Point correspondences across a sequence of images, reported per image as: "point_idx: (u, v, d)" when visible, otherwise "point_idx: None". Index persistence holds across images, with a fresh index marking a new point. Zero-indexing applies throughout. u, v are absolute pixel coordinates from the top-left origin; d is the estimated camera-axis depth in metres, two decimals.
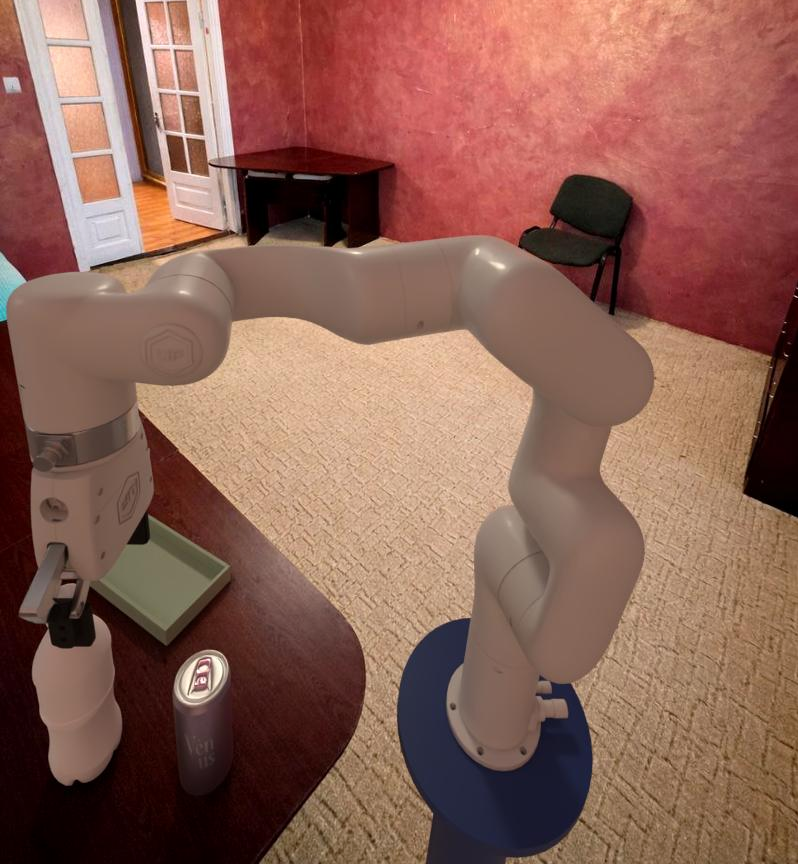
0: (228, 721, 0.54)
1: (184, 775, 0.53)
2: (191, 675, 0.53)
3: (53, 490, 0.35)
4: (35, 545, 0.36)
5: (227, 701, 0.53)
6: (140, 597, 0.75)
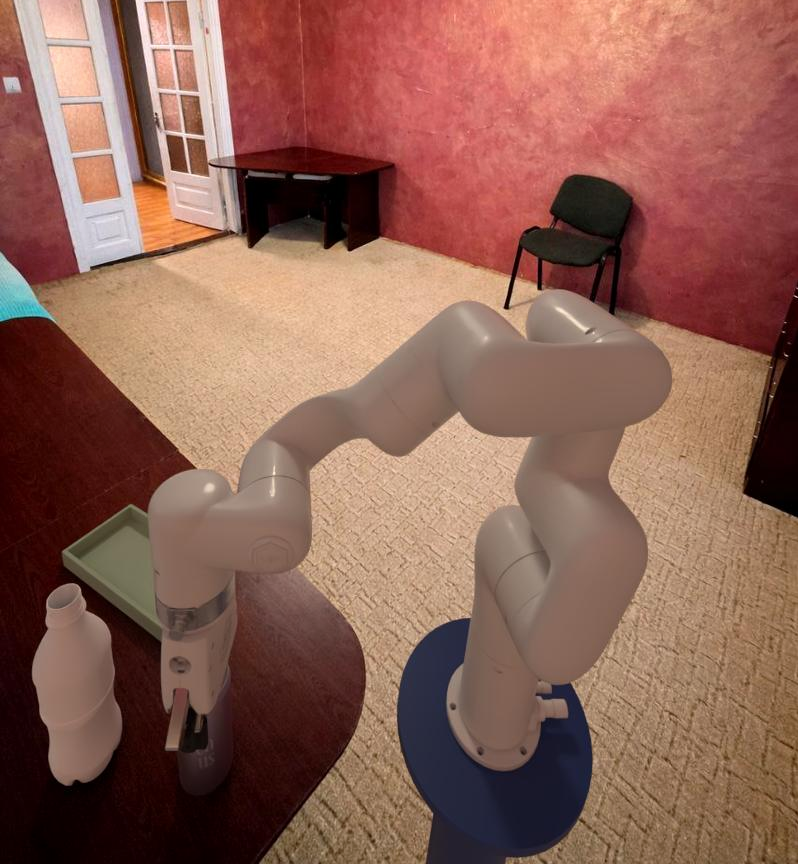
0: (228, 721, 0.54)
1: (184, 775, 0.53)
2: None
3: (180, 650, 0.45)
4: (163, 690, 0.46)
5: (227, 701, 0.53)
6: (140, 597, 0.75)
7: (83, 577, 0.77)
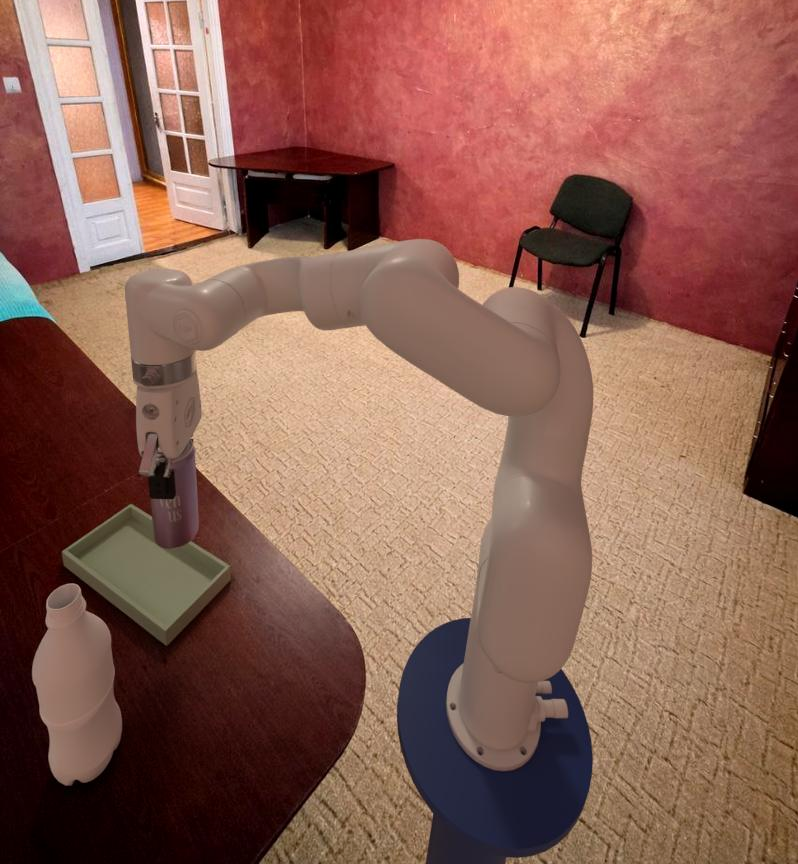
0: (193, 489, 0.67)
1: (157, 530, 0.67)
2: None
3: (150, 399, 0.59)
4: (138, 434, 0.59)
5: (191, 469, 0.66)
6: (140, 597, 0.75)
7: (83, 577, 0.77)
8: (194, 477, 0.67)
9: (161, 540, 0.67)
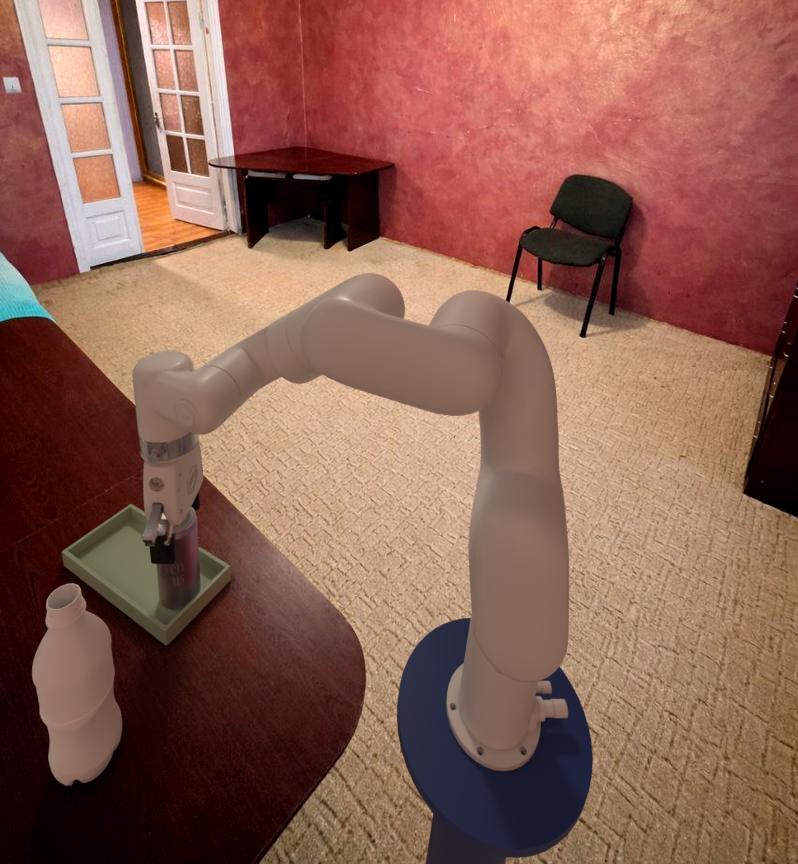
0: (195, 554, 0.73)
1: (162, 592, 0.73)
2: None
3: (156, 473, 0.64)
4: (145, 504, 0.65)
5: (194, 537, 0.72)
6: (140, 597, 0.75)
7: (83, 577, 0.77)
8: (196, 543, 0.73)
9: (166, 601, 0.73)
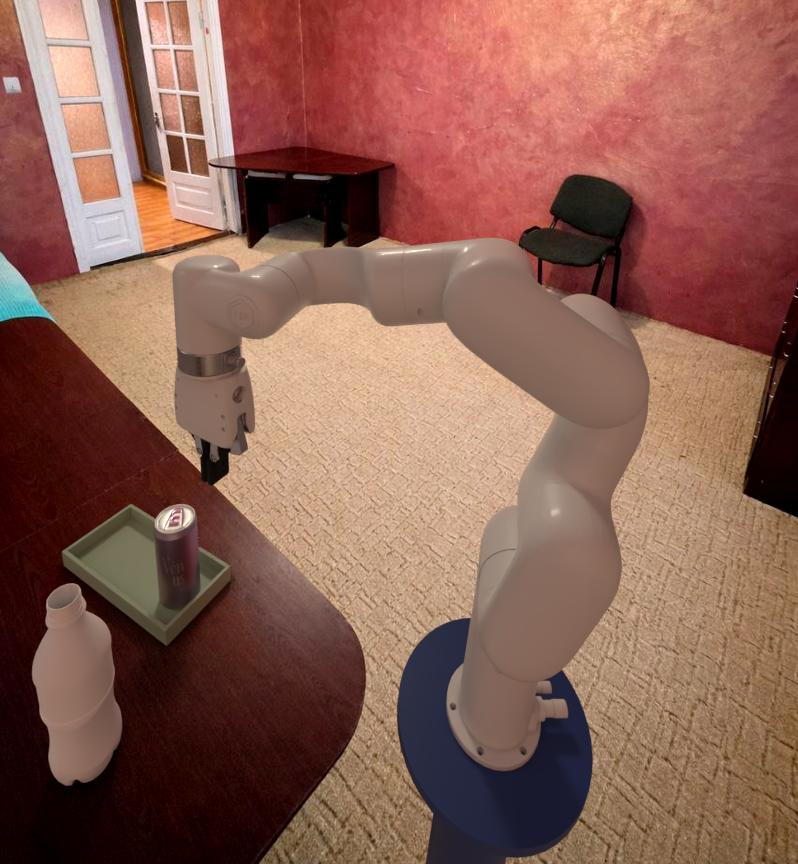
0: (195, 554, 0.73)
1: (162, 592, 0.73)
2: (167, 518, 0.72)
3: (238, 382, 0.58)
4: (230, 424, 0.58)
5: (194, 537, 0.72)
6: (140, 597, 0.75)
7: (83, 577, 0.77)
8: (196, 543, 0.73)
9: (166, 601, 0.73)
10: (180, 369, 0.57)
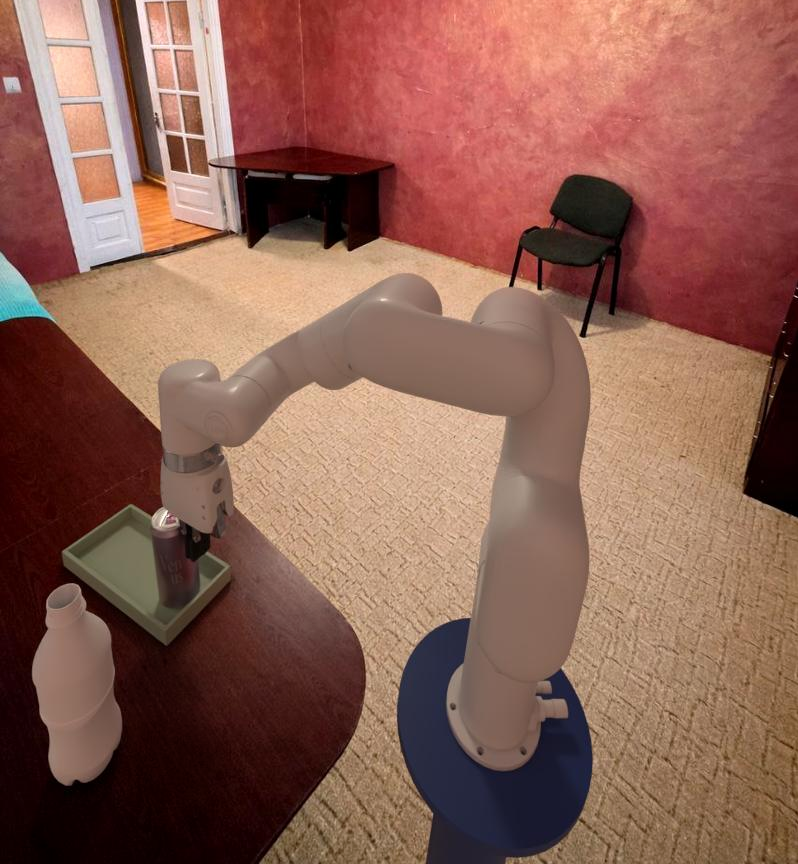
0: None
1: (161, 591, 0.73)
2: (164, 515, 0.72)
3: (217, 475, 0.65)
4: (210, 513, 0.64)
5: None
6: (140, 597, 0.75)
7: (83, 577, 0.77)
8: None
9: (165, 600, 0.73)
10: (165, 465, 0.63)
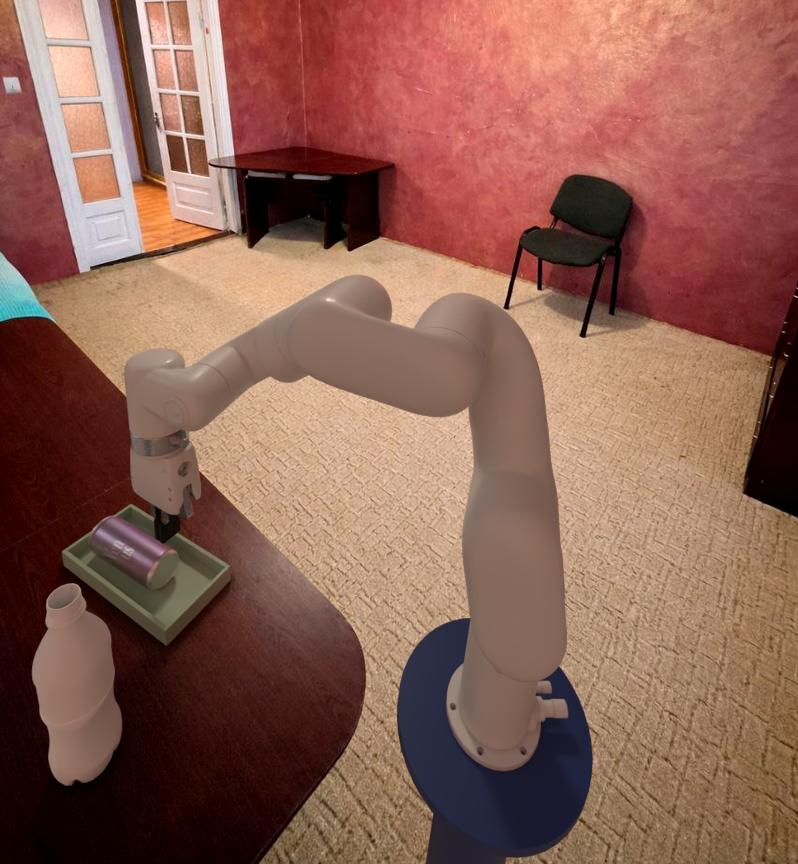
0: (131, 531, 0.80)
1: (133, 577, 0.75)
2: None
3: (183, 458, 0.67)
4: (176, 495, 0.67)
5: (117, 523, 0.81)
6: (140, 597, 0.75)
7: (83, 577, 0.77)
8: (128, 526, 0.81)
9: (140, 578, 0.75)
10: (132, 449, 0.66)
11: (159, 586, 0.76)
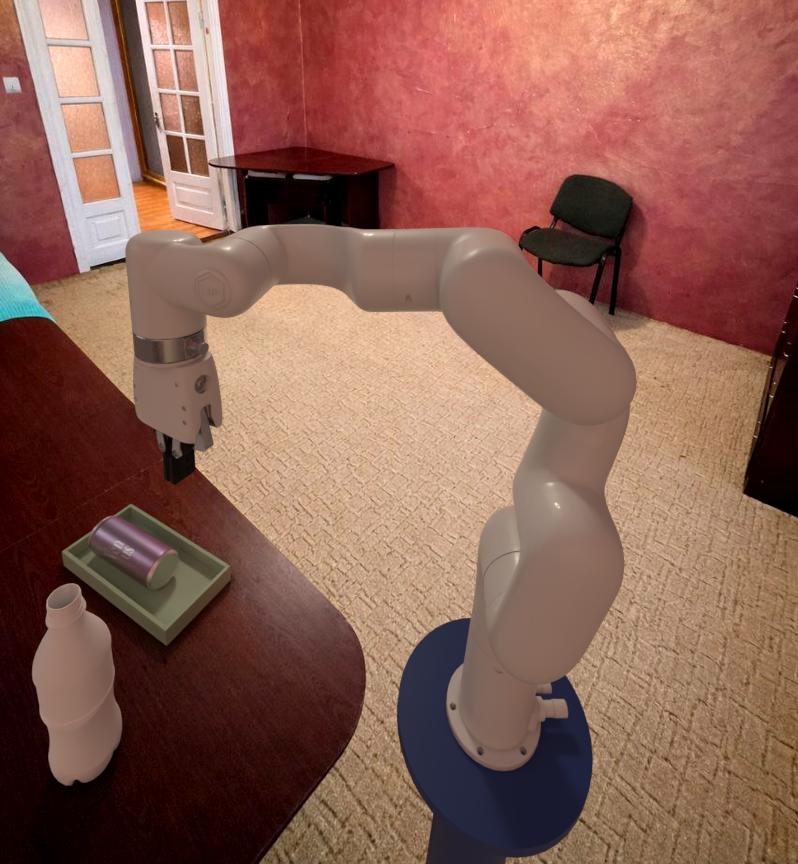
0: (131, 530, 0.80)
1: (134, 576, 0.75)
2: None
3: (200, 370, 0.53)
4: (192, 416, 0.53)
5: (117, 523, 0.81)
6: (140, 597, 0.75)
7: (83, 577, 0.77)
8: (128, 526, 0.81)
9: (140, 578, 0.75)
10: (136, 356, 0.52)
11: (159, 586, 0.76)
